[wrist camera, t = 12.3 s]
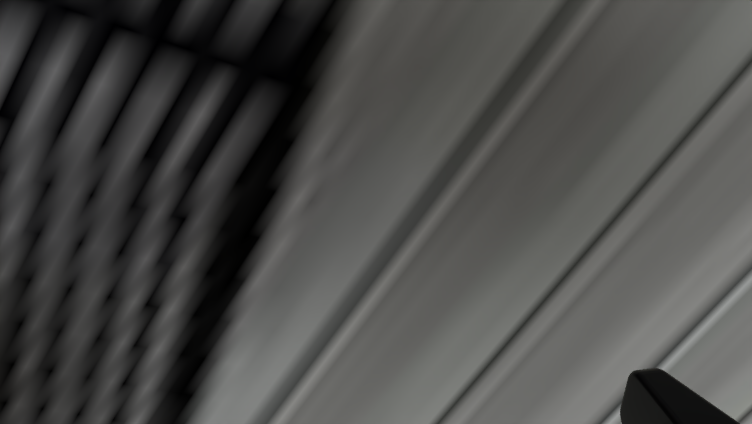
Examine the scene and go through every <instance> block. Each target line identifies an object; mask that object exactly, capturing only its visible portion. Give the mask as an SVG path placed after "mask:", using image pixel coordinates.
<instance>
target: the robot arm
mask: <svg viewBox="0 0 752 424" xmlns="http://www.w3.org/2000/svg"><path fill="white" fill-rule="evenodd" d="M620 416H621V422H622V424H740V423H738V422H737V421H735V420H734V419H733V418H731V417H730V416H728V415H727V414H725V413H724V412H723V411H721V410H720V409H718V408H717V407H715V406H714V405H712V404H711V403H710V402H708V401H707V400H705V399H704V398H702V397H701V396H699V395H698V394H697V393H695V392H694V391H692V390H691V389H689V388H688V387H687V386H685V385H684V384H682V383H681V382H679V381H678V380H676V379H675V378H674V377H672V376H671V375H669V374H668V373H666V372H665V371H663V370H661V369H658V368H651V369H643V370H636V371H633V372H632V373H631V374H630V375H629V377H628V381H627V384H626V388H625V392H624V396H623V400H622V404H621V409H620Z"/></svg>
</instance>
